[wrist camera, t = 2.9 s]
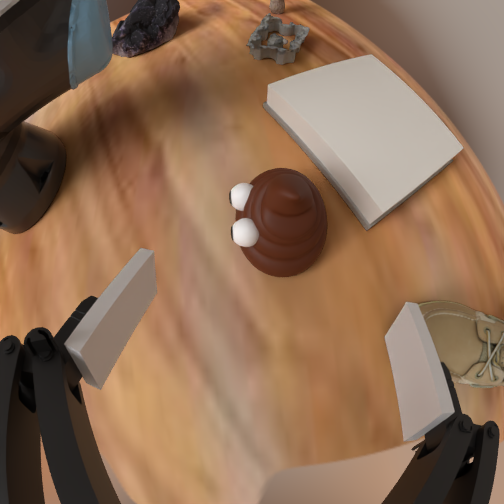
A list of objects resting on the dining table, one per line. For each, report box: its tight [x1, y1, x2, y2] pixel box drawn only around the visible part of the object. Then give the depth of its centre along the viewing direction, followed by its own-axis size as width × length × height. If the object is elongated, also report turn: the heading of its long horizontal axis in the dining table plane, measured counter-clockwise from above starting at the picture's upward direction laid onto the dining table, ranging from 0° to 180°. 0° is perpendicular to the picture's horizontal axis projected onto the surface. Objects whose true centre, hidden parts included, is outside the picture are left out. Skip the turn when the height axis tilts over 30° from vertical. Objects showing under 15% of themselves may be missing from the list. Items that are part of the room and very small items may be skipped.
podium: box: [263, 54, 463, 231], centre depth 27 cm, size 19×19×4 cm
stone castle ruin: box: [246, 13, 310, 65], centre depth 31 cm, size 11×8×4 cm
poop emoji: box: [229, 168, 327, 277], centre depth 22 cm, size 10×8×9 cm
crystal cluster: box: [112, 0, 180, 57], centre depth 30 cm, size 13×14×10 cm
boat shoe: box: [418, 301, 504, 388], centre depth 19 cm, size 25×9×8 cm, turn 68°
